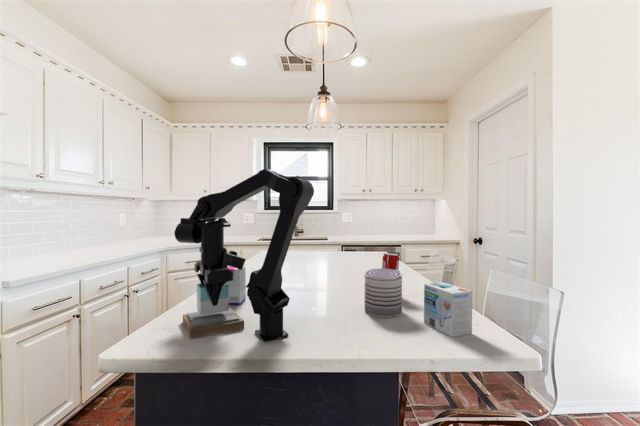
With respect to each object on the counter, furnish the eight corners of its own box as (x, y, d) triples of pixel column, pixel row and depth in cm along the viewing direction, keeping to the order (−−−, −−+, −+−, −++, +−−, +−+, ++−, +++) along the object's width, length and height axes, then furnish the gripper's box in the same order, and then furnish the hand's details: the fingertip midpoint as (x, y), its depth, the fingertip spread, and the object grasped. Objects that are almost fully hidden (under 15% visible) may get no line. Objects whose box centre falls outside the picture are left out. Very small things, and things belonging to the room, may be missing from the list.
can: (408, 310, 98) (408, 271, 97) (391, 320, 89) (391, 277, 89) (375, 303, 105) (375, 266, 105) (356, 311, 96) (356, 272, 96)
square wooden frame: (244, 328, 83) (244, 318, 82) (190, 338, 76) (190, 328, 76) (230, 314, 94) (230, 305, 94) (182, 322, 87) (182, 313, 87)
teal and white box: (223, 305, 89) (223, 280, 89) (228, 310, 84) (228, 284, 84) (197, 310, 85) (197, 283, 85) (200, 315, 81) (200, 287, 81)
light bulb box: (422, 323, 87) (423, 283, 87) (442, 320, 89) (442, 281, 89) (451, 337, 77) (452, 293, 77) (473, 334, 79) (473, 290, 79)
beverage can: (377, 294, 116) (377, 252, 116) (393, 292, 118) (393, 252, 118) (385, 298, 110) (385, 255, 110) (402, 296, 112) (402, 254, 112)
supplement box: (246, 300, 109) (246, 266, 108) (240, 305, 103) (240, 269, 102) (229, 299, 109) (229, 266, 109) (222, 304, 103) (222, 269, 103)
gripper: (253, 245, 81) (253, 307, 81) (233, 239, 97) (233, 291, 97) (207, 248, 75) (208, 314, 75) (194, 241, 91) (194, 296, 91)
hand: (212, 302), depth 85 cm, fingers closed on teal and white box, 5 cm apart
